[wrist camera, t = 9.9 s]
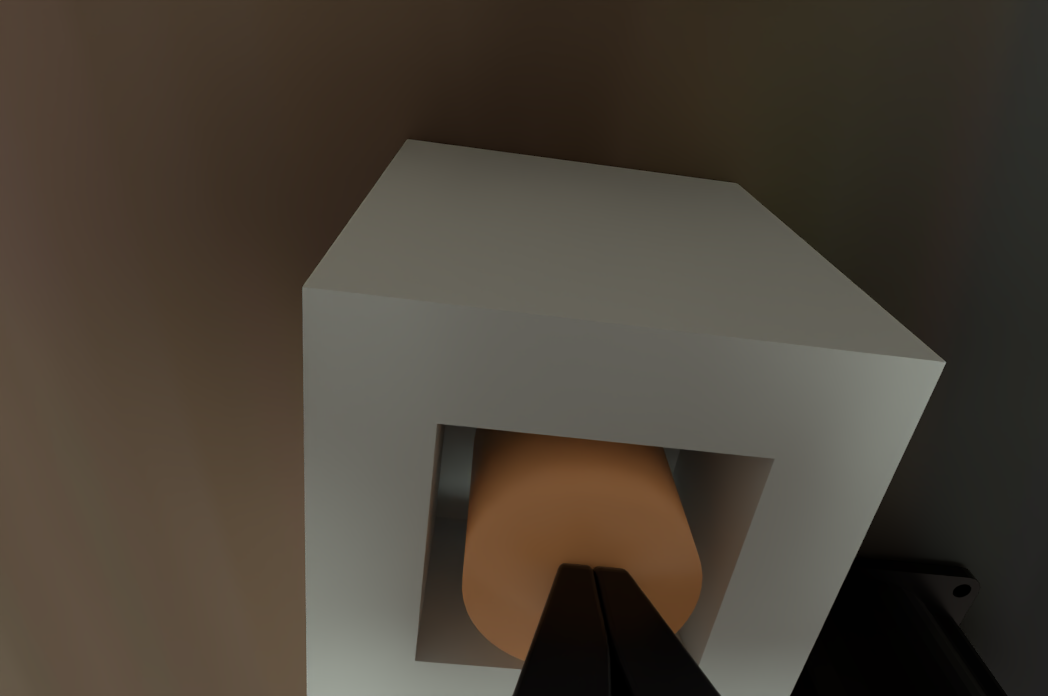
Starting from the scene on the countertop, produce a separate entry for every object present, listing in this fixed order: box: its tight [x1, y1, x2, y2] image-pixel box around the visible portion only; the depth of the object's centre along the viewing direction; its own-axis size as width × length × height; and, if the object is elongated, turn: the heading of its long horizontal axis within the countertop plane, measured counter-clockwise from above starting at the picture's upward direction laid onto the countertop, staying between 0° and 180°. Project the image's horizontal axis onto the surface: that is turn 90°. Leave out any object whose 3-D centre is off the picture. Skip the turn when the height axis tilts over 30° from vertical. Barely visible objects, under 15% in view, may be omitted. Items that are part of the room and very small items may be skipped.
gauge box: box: [302, 139, 946, 696], centre depth 13 cm, size 7×7×8 cm
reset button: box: [462, 428, 702, 661], centre depth 10 cm, size 3×3×3 cm
